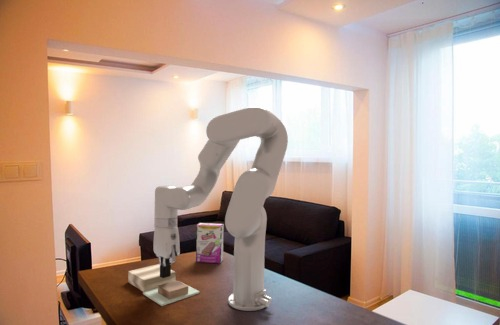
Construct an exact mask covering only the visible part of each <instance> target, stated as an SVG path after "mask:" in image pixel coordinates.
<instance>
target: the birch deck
mask: <svg viewBox="0 0 500 325" xmlns="http://www.w3.org/2000/svg"><path fill="white" fill-rule="evenodd" d="M127 275H128V276H127V278H128V279H127V281H128V283H129V284H130V285H132V286H133V287H135V288H137V289H138V290H140V291H141V292H142V293H143V292H145V291H149V290H152V289H156V288H158V285H162V284H165V283H169V282H172V281H176V276H177V273H176V271H175V270H172V269H171V276H169V277H166V278H162V277H160V264H159V263H157V264H153V265H148V266H145V267H140V268H135V269H132V270H128V272H127Z"/></svg>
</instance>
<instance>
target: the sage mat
mask: <svg viewBox="0 0 500 325" xmlns="http://www.w3.org/2000/svg"><path fill="white" fill-rule="evenodd" d="M178 281H179V280H178ZM179 282H181V283H183V282H182V281H179ZM183 284H185V283H183ZM185 285H187V286H188V294H185V295H182V296H179V297H176V298H173V299H170V300H169V299H167V298H165V297H164V296H162V295H161V294H159V293H158V288H156V289H152V290H149V291H145V292H143V291H142V295H143V296H145V297H147V298H148V299H150V300H151V301H153V302H154V303H156V304H157V305H159V306H161V307H163V306H165V305H169V304H173V303H175V302H178V301H180V300H184V299H187V298H189V297H193V296H195V295H198V294H200V293H201V292H200V290H197V289H196V288H193V287H191V286H190V285H188V284H185Z"/></svg>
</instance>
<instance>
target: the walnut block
mask: <svg viewBox="0 0 500 325" xmlns="http://www.w3.org/2000/svg"><path fill="white" fill-rule="evenodd" d="M181 282H182V281H180V282H179V280H176V281H172V282H169V283H165V284H162V285H158V293H159V294H161V295H162V296H164V297H165V298H167V299H169V300H170V299H173V298H176V297H179V296H182V295H185V294H188V286H189V285H188V284H186V285H185V283H184V284H183V282H182V283H181ZM187 285H188V286H187Z"/></svg>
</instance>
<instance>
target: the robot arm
mask: <svg viewBox="0 0 500 325" xmlns="http://www.w3.org/2000/svg"><path fill="white" fill-rule="evenodd" d="M287 131H288V130H287V129H286V127H285V125H284V124H283V122H282V120H280V119H279V117H277V115H275V114H274V113H273V112H271V111H269V110H268V109H266V108H265V107H263V106H255V105H254V106H248V107H244V108H241V109H238V110H234V111H231V112H227V113H224V114H221V115H217V116H215V117H213V118H212V119H211V120H210V121H209V122H208V123H207V126H206V131H205V133H206V137H207V139H208V140H207V142H206V143H205V144H204V146H203V147H202V149H201V150H200V152H199V153H198V156H197V159H198V162H199V171H198V173H197V175H196V177H195V179H194V180H193V182H192V183H191V184H190V185H185V186H178V187H176V186H175V185H174V186H173V185H160V186H157V187H155V190H154V221H153V222H154V225H153V226H154V230H153V231H154V232H153V243H152V244H153V249H152V250H153V252H154V254H155V256H156V258H158V264H160V277H162V278H166V277H169V276H171V270H172V264H173V263H176V261H177V260H176V257H180V255H181V254H180V253H181V248H180V247H181V246H180V233H179V227H178V211H187V210H189V209H192V208H195V207H198V206H201V205H202V204H204V202H205V201H206V200H207V198H208V197H209V195H210V194H211V192H212V190H214V188H215V186H216V184H217V181H218V178H219V176H220V172H221V169H223V167H224V165H225V163H226V162H227V160H228V159H229V158H230V156H231V154H232V153H233V152H234V149H235V148H236V147H237V146H238V144H239V143H240V141H241V140H244V139H248V138H252V137H256V138H257V137H258V138H260V144H259V147H258V148H257V151H256V153H255V157H254V159H253V160H254V161H253V162H252V165H251V168H250V169H248V170H245V171H244V172H243V173H241V174H240V176H239V177H238V179H237V181H236V182H235V185H234V189H233V192H232V194H231V198H230V201H229V203H228V206H227V210H226V213H225V217H224V225H225V228H226V231H228V233H229V234H230V235H231V236H232V237H234V244H233V248H234V250H233V292H232V293H231V294H230V295H229V296H228V302H227V303H228V305H229V306H230V307H231V308H234V309H236V310H240V311H242V312H243V311H244V312H245V311H246V312H254V311H255V312H256V311H260V310H262V309H264V308H269V307H270V305H271V303H272V301H273V297H270V296H268V295H267V289H265V253H266V252H265V251H266V249H265V248H266V231H267V221H268V217H267V212H266V209H265V207H264V204H265V202H266V199H267V198H269V197H271V196H272V194H273V193H274V191H275V188H276V185H277V181H278V177H279V175H280V172H281V169H282V166H283V165H282V164H283V162H284V158H285V155H286V152H287V149H288V143H289V141H288V140H289V138H288V136H289V135H288V132H287Z"/></svg>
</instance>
